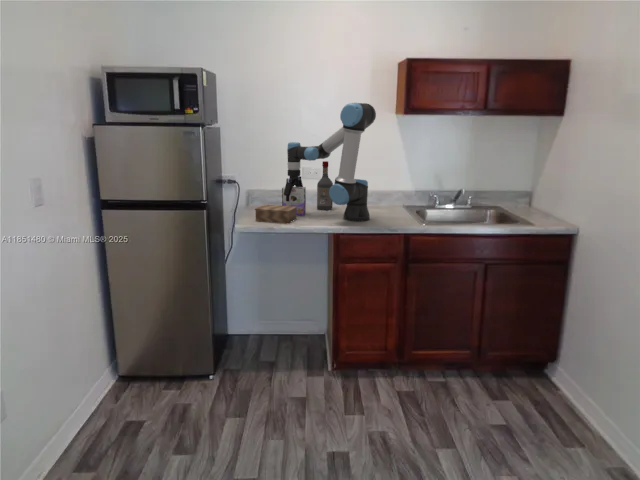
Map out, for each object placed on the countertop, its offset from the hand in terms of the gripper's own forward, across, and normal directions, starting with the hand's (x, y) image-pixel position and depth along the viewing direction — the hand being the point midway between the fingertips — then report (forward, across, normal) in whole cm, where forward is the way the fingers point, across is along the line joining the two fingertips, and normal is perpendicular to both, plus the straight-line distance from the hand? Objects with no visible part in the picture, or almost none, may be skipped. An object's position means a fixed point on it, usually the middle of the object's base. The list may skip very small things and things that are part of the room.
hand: (294, 204), depth 289 cm
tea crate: (+6, +19, -1) cm, 20 cm away
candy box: (+6, 0, 0) cm, 6 cm away
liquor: (+6, -24, +9) cm, 26 cm away
